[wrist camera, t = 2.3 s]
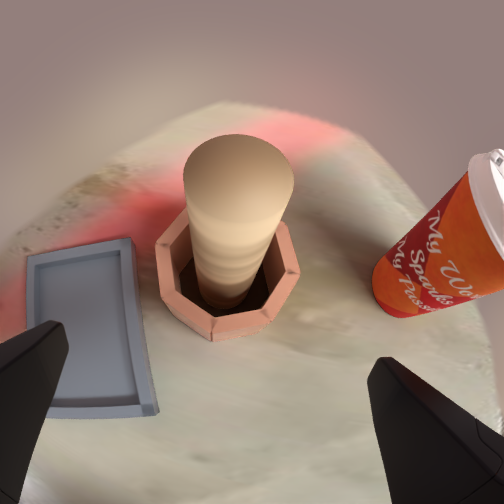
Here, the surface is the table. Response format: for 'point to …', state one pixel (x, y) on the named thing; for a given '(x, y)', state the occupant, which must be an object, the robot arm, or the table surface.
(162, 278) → the pot
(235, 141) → the oak peg
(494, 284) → the paper cup
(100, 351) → the slate tray
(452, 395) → the table surface
